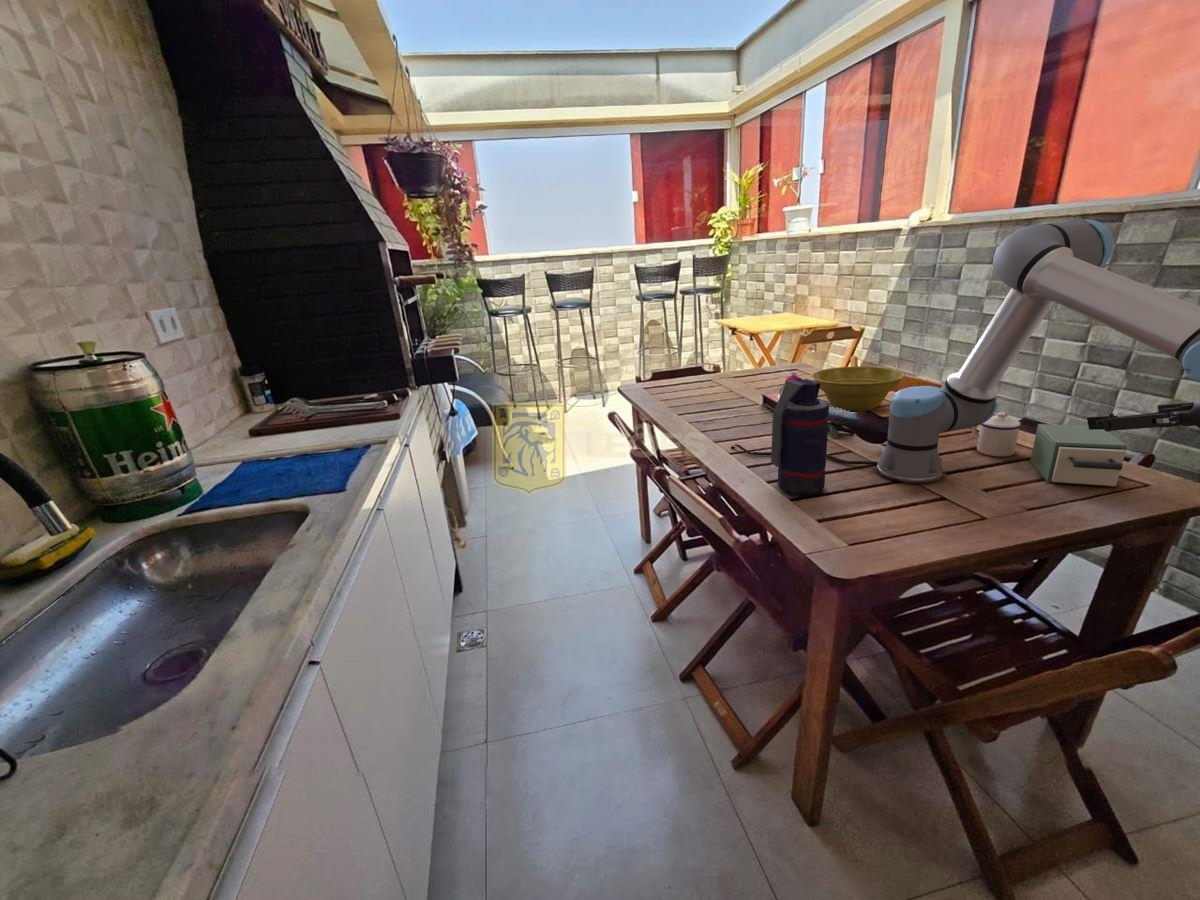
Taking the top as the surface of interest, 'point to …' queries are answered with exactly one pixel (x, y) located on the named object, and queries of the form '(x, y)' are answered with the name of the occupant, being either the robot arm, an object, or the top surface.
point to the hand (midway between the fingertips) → (1124, 417)
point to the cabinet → (1067, 444)
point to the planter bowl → (857, 386)
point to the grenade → (800, 437)
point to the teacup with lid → (997, 435)
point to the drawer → (1088, 465)
